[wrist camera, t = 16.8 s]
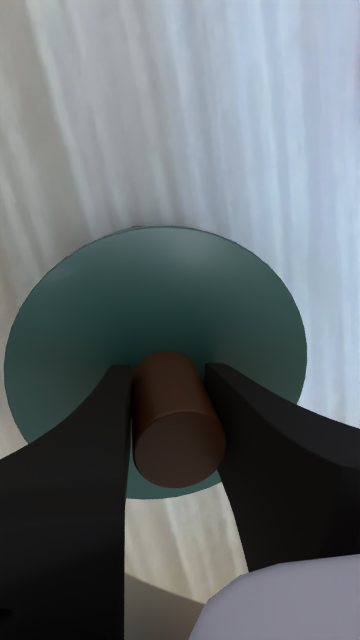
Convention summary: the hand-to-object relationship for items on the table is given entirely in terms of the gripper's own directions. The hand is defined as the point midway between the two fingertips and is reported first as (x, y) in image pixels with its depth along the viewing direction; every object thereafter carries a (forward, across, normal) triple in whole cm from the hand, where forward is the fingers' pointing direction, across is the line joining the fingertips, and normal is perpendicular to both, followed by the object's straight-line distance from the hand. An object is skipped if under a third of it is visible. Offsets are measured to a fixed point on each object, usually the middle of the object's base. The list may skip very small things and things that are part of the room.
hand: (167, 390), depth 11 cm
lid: (+1, 0, 0) cm, 1 cm away
